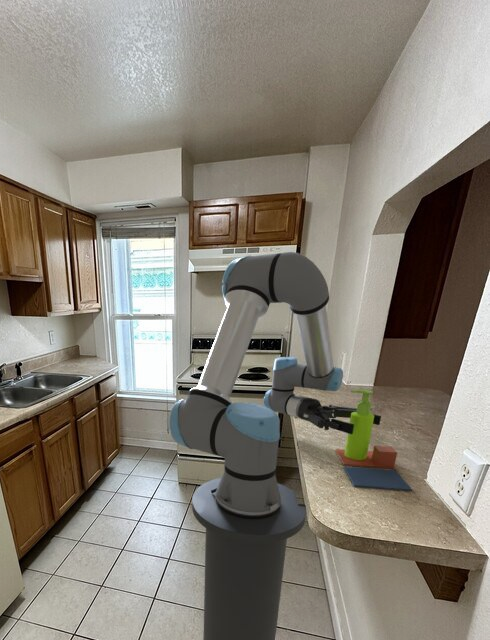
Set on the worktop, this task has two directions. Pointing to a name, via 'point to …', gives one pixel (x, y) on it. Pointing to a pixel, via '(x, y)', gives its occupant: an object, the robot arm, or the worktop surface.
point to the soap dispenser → (360, 428)
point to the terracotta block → (384, 456)
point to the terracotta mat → (352, 462)
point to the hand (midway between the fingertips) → (366, 424)
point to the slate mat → (377, 478)
